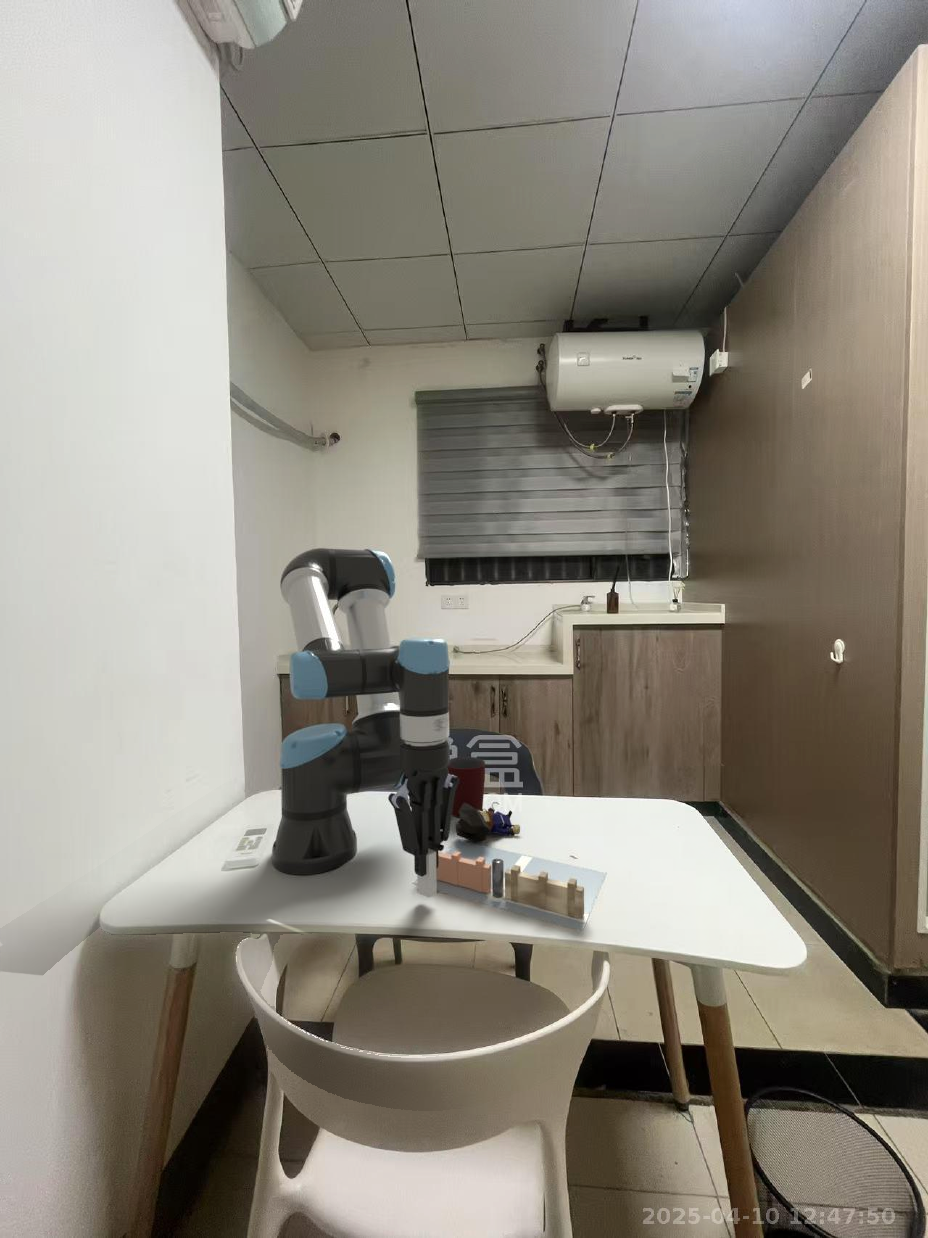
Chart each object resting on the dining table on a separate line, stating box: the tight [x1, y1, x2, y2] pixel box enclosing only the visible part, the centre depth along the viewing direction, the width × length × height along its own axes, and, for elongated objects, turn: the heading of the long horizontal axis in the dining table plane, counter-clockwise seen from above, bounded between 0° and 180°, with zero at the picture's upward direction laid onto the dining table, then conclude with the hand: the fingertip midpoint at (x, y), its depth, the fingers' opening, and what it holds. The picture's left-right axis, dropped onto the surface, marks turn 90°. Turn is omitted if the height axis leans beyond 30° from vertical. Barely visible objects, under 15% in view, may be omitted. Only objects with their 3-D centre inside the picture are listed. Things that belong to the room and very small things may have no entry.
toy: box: [455, 801, 521, 844], centre depth 100 cm, size 9×6×15 cm
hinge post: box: [492, 859, 504, 898], centre depth 79 cm, size 2×2×6 cm
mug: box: [447, 756, 486, 819], centre depth 112 cm, size 12×9×11 cm
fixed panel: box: [505, 865, 584, 919], centre depth 76 cm, size 12×2×5 cm, turn 63°
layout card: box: [412, 839, 607, 932], centre depth 84 cm, size 28×17×1 cm, turn 63°
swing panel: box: [436, 851, 491, 893], centre depth 82 cm, size 12×2×5 cm, turn 63°
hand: (427, 892), depth 77 cm, fingers closed
